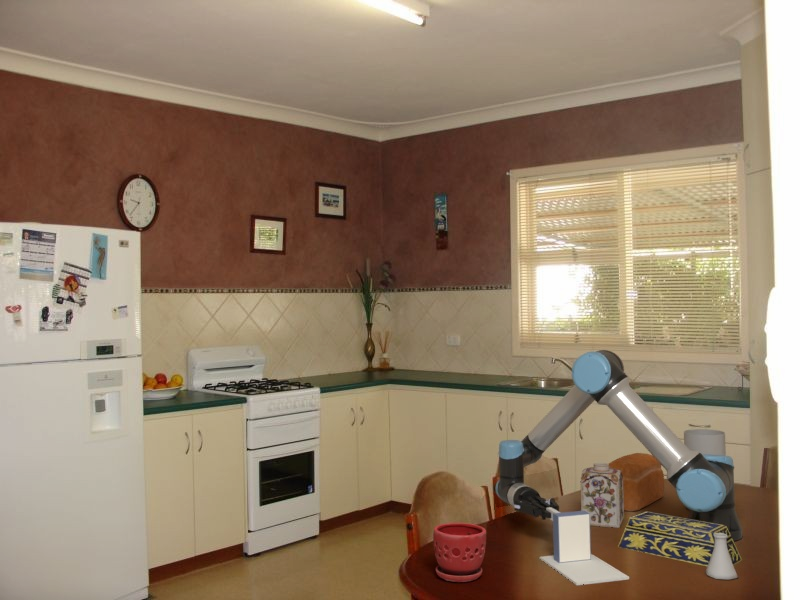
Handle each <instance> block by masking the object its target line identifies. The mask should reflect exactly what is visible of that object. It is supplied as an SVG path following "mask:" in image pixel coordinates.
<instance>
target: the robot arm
mask: <svg viewBox="0 0 800 600" xmlns="http://www.w3.org/2000/svg"><path fill="white" fill-rule="evenodd" d="M571 379H572V382H573V384H574V386H573V387H571V388H570V390H569V391H567V392H566V394H565V395H564V396H563V397H562V398H561V399H560V400H559V401H558V402H557V403H556V404H555V405H554V406H553V407H552V409H551V410H550V411H549V412H548V413H546V415H545V416H544V417H543V418H542V419H541V420H540V421H539V422H538V423H537V424H536V425H535V426H534V427H533V428H532V429H531V431H530V432H529V433H527V435H526V436H525V437H524V438H523V439H521V440H520V439H519V440H518V439H505V440H501V441H500V442H499V444H498V445H499V446H498V453H497V454H498V463H499V464H498V465H499V467H498V468H499V479H498V480H497V482H496V484H495V493H496V495H497V497H498V498H499V499H500V500H501V501H502V502H504V503H507V504H509V505H510V506H511V507H513V509H514V511H516V512H521V513H522V514H525V515H529V516H532V517H535V518H539V517H541V520H544V521H545V520H546V519H548V520H550V521H551V522H553V513H562V512H560V505H558V503H557V502H556V499H555V497H552V498H549V499H548V500H546V498H543V497H541V495H540V493H539V492H538V491H537V490H536V489H535V488H532V487H530V486H529V485H526V484H525V477H524V476H525V472H524V469H525V467H527V466H531V464H532V465H533V464H535V463H537V461H539V460H540V459H541V458H542V455H543V454H544V453H545V452H546V450H547V449H549V448H550V446H552V444H553V443H554V442H555V441H557V439H558V438H560V436H561V435H562V434H564V432H565V431H566V430H567V429H568V428H570V426H571V425H573V423H574V422H575V421H576V420H577V419H578V418H579V417H580V416H581V415H582V414H583V413H584V412H585V411H586V410H587V409H588V408H589V407H590V406H591V405H592V404H593V403H594V402H596V403H597V404H598V405H602V406H607V407H608V409H609V410H610V411H611V412H612V413H613V414H614V415H615V416H616V417H617V418H618V419H619V420H620V422H621V423H623V425H624V426H625V427H626V428H627V429H628V430H629V431H630V432H631V434H633V436H634V437H635V439H636V440H638V441H639V442H640V443H641V445H643V447H645V449H646V450H647V451H648V452H649V453H650V455H652V456H654V457H655V458H656V459H657V461H658V462H659V463H660V464H661V467H663V468H664V469H665V470H666V471H665V472H666V479H667V480H668V481H669V483H670V484H671V485H672V486H673V488H674V489H675V490H676V494H677V497H678V499H679V500H680V502H681V503H682V504H683V505H684V506H685V507H686V508H687V507H688V508H689V509H690V510H689V509H688V508H687V509H688V510H689V513H688V515H687V518H688V519H694V520H699V521H705V522H711V523H716V524H722V525H726V526H727V528H728V530H729V532H730V535H731V537H732V539H733V541H734V542H735V541H739V540H742V539H743V527H742V525H741V523H740V519H739V517H738V515H737V512H736V507H735V505H736V504H735V478H734V477H735V474H734V469H735V465H734V460H733V459H734V458H732V456H729V455H726V456H724V455H712V454H701V453H700V452H698V451H691V450H689V449H688V447H687V446H686V445H685V444H684V441H682V440H681V439H680V437H678V436H677V435H676V434H675V432H674V431H673V430H672V429H671V428H669V426H668V425H667V424H666V423H665V422H664V421H663V419H662V418H660V416H658V414H657V413H655V411H654V410H653V409H652V408H651V407H650V406H649V405H648V404H647V403H646V402H645V400H643V399H642V398H641V397H640V395H639V394H637V392H636V391H635V390H634V389H633V388H632V387H631V386H630V377H629V376H628V375H627V374H626V373H625V366H624V362H623V360H622V359H621V357H620V356H619V355H618V354H617V353H615V352H613V351H610V350H608V349H607V350H606V349H601V350H597V351H593V350H591V351H587V352H585V353H583V354H581V355H580V356H578V357H577V358H576V359H575V361H574V362H573V365H572V368H571Z"/></svg>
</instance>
